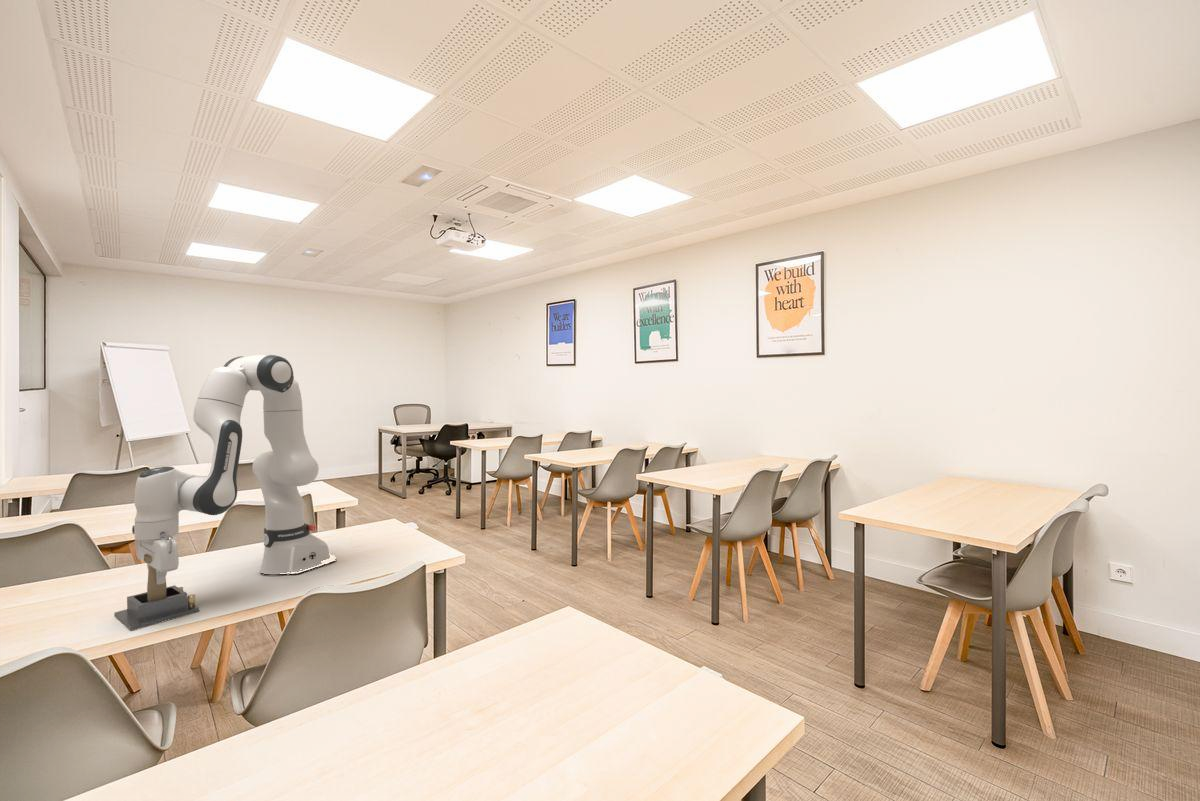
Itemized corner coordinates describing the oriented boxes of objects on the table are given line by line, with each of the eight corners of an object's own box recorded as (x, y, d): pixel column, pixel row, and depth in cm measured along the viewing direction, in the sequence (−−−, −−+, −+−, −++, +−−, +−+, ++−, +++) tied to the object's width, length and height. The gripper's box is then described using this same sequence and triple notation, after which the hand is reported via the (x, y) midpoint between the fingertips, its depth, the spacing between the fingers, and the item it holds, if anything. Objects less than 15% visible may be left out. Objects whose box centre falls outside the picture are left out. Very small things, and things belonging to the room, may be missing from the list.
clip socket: (180, 598, 146) (180, 581, 146) (199, 611, 138) (199, 592, 138) (114, 616, 135) (114, 597, 135) (130, 630, 127) (130, 610, 127)
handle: (148, 616, 133) (147, 558, 132) (141, 610, 137) (141, 553, 136) (172, 610, 136) (171, 554, 136) (165, 604, 140) (165, 549, 140)
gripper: (186, 533, 133) (186, 586, 133) (159, 521, 145) (159, 570, 145) (154, 538, 128) (155, 594, 128) (129, 525, 139) (130, 576, 140)
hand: (157, 581), depth 137 cm, fingers closed on handle, 3 cm apart
